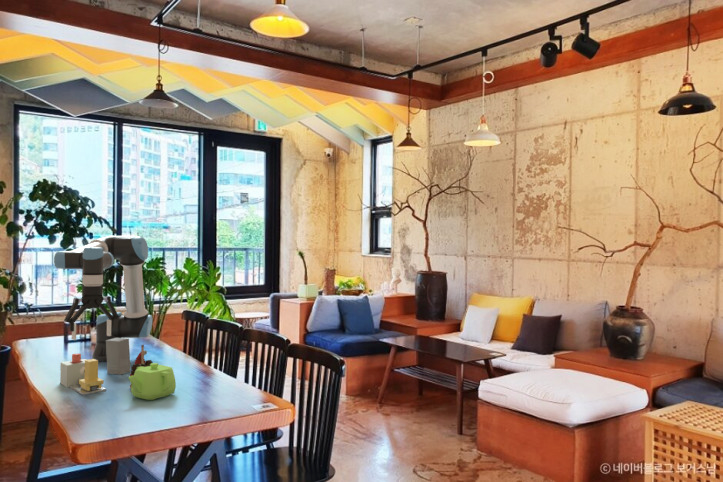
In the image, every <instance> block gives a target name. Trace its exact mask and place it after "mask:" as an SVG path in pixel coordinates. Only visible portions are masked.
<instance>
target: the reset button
mask: <svg viewBox="0 0 723 482" xmlns="http://www.w3.org/2000/svg"><path fill="white" fill-rule="evenodd" d="M81 359H82V353H73V354H71V361H72V364H74V363H81Z"/></svg>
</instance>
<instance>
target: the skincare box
mask: <svg viewBox="0 0 723 482" xmlns="http://www.w3.org/2000/svg"><path fill="white" fill-rule="evenodd" d="M106 354H107V361H106V369H107V371H106V372H107V373H106V374H110V375H118V376H119V375H120V376H121V375H124V374H128V373H131V355H130V338H113V339H109V340H106Z"/></svg>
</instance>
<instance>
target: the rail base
mask: <svg viewBox="0 0 723 482" xmlns="http://www.w3.org/2000/svg"><path fill="white" fill-rule="evenodd" d="M79 380H81V379H79ZM79 380H78V384H75V385H69V387H68V388H69V389H71V390H73V391H75V392H77V393H78V394H81V395H82V396H84V395H90V393H91V394H95V393H100V392H106V391H107V388H105V387H103V386H101V388H100V389H99V388H97V386H96V385H95V386H90V390H89V391H87V390H85V389H83V388H81V385H80V384H79Z"/></svg>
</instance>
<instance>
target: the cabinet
mask: <svg viewBox="0 0 723 482" xmlns="http://www.w3.org/2000/svg"><path fill="white" fill-rule="evenodd" d="M85 360H88V359H86V358H84V359H83V358H81V363H74V364H72V360H68V361H67V360H66V361H62V362H60V375H59V376H60V379H59V380H60V382H59V383H60V384H61V385H63V386H64V387H66V388H69V385H75V384H78V380H79V379H85Z"/></svg>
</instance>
